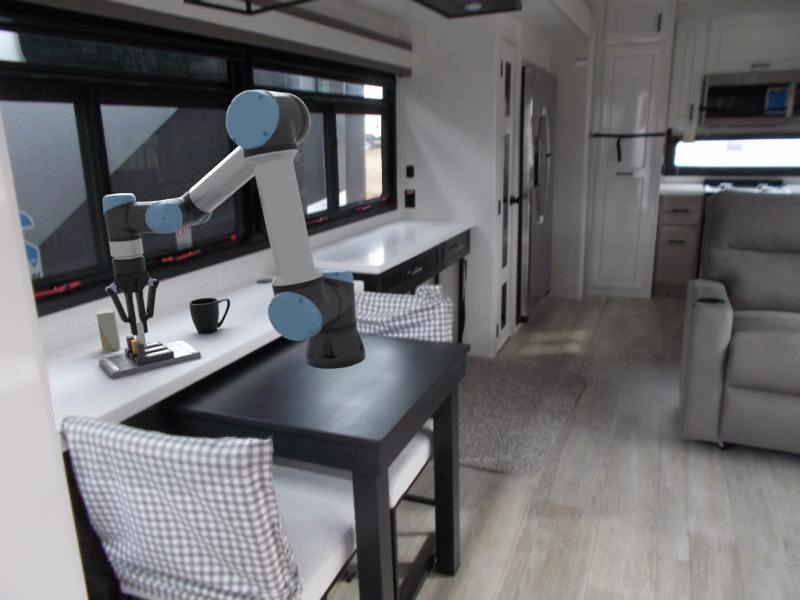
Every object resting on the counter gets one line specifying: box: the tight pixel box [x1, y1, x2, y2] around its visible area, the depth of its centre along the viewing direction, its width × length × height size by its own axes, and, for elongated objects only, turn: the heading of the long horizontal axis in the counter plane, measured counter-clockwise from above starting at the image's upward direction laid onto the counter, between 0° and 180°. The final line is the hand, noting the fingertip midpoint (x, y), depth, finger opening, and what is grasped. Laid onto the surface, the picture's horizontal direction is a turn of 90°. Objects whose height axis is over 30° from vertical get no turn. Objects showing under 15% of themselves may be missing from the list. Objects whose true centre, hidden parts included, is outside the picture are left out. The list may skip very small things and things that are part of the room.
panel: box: [97, 334, 202, 380], centre depth 162 cm, size 14×22×6 cm, turn 128°
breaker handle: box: [131, 338, 139, 353], centre depth 160 cm, size 2×2×3 cm
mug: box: [188, 297, 231, 335], centre depth 186 cm, size 8×12×10 cm
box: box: [96, 308, 121, 353], centre depth 173 cm, size 5×4×11 cm
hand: (141, 345), depth 161 cm, fingers closed
